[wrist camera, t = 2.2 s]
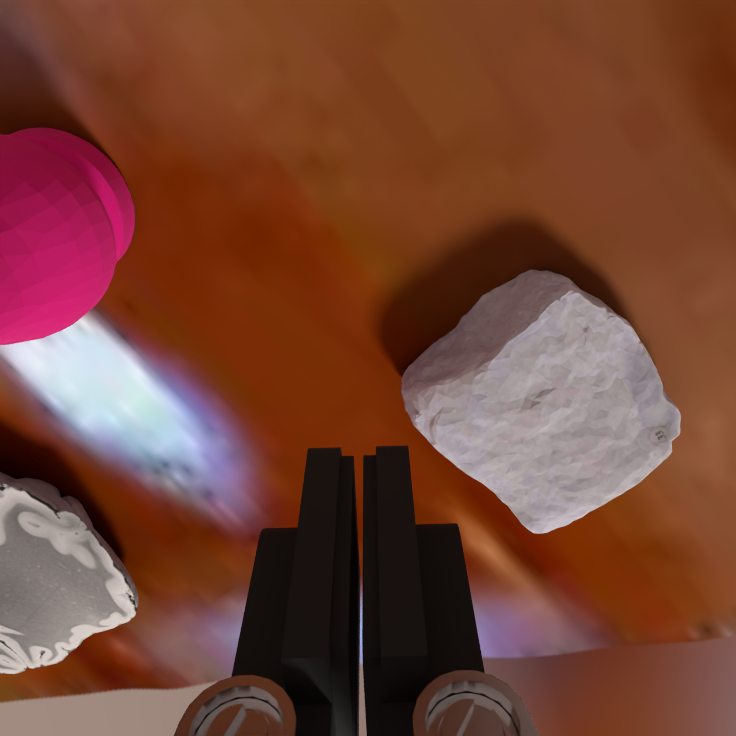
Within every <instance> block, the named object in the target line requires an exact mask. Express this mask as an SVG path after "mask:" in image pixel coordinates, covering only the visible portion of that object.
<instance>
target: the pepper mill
mask: <svg viewBox="0 0 736 736" xmlns="http://www.w3.org/2000/svg"><path fill="white" fill-rule="evenodd" d="M134 227H135V212H134V205H133V201H132V198H131V195H130V191H129V189H128V187H127V185H126V183H125V181H124V179H123V177H122V175H121V174H120V172H119V171H118V170H117V168H116V167H115V166H114V164H113V163H112V162H111V161H110V160H109V159H108V158H107V157H106V156H105V155H104V154H103V153H102V152H100V151H99V150H98V149H97V148H96V147H94V146H93V145H92V144H90V143H89V142H87V141H85V140H84V139H81V138H79V137H77V136H75V135H72V134H70V133H68V132H65V131H62V130H57V129H52V128H39V127H36V128H28V129H23V130H19V131H16V132H14V133H11V134H9V135H3V134H0V345H7V344H13V343H19V342H24V341H30V340H35V339H40V338H44V337H46V336H49V335H51V334H54V333H56V332H59V331H61V330H63V329H65V328H67V327H69V326H71V325H72V324H74V323H75V322H76V321H78V320H79V319H80V318H81V317H82V316H84V315H85V314H86V313H87V312H88V311H89V310H91V309H92V308H93V307H94V306H95V305H96V304H97V303H98V302H99V300H100V299H101V298H102V297H103V295H104V294H105V292H106V290H107V288H108V286H109V284H110V282H111V279H112V277H113V274H114V269H115V263H116V262H117V261H118V260H119V259H120V258H121V257H122V256H123V255H124V253H125V252H126V250H127V248H128V247H129V245H130V242H131V239H132V236H133V232H134Z"/></svg>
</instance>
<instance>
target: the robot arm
mask: <svg viewBox="0 0 736 736" xmlns="http://www.w3.org/2000/svg"><path fill="white" fill-rule="evenodd" d="M362 639H363V675H364V692H365V708H366V709H365V710H366V728H367V736H539V735H538V732H537V729H536V727H535V724H534V722H533V719H532V717H531V714H530V712H529V711H528V709H527V707H526V705H525V703H524V702H523V700H522V698H521V697H520V696H519V695H518V694H517V693H516V692H515V691H514V690H513V689H512V688H511V687H510V686H509V685H508V684H507V683H505V682H503V681H502V680H500V679H498V678H496V677H495V676H493V675H491V674H487V673H485V672H484V667H483V661H482V655H481V650H480V644H479V638H478V633H477V627H476V621H475V616H474V610H473V604H472V599H471V593H470V587H469V582H468V576H467V570H466V565H465V559H464V553H463V548H462V542H461V536H460V532H459V527H458V525H457V524H419V525H415V514H414V504H413V493H412V483H411V472H410V461H409V451H408V446H378V447H376V455H364V457H363V629H362ZM359 657H360V565H359V547H358V528H357V510H356V491H355V472H354V457H353V456H342V454H341V448H309V449H308V453H307V460H306V468H305V475H304V483H303V491H302V498H301V506H300V514H299V522H298V528H266V529H262V531H261V533H260V537H259V541H258V546H257V551H256V556H255V561H254V566H253V572H252V577H251V582H250V587H249V592H248V597H247V602H246V607H245V612H244V617H243V622H242V627H241V632H240V637H239V642H238V647H237V652H236V657H235V662H234V667H233V672H232V677H231V678H227V679H224V680H221V681H219V682H217V683H215V684H214V685H212V686H210V687H209V688H207V689H205V690H204V691H203V692H202V693H201V694H200V695H199V696H198V697H197V698H196V699H195V700H194V701H193V702H192V703H191V704H190V705H189V706H188V708H187V710H186V712H185V713H184V715H183V717H182V719H181V720H180V722H179V724H178V727H177V729H176V732H175V734H174V736H359Z"/></svg>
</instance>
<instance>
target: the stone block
mask: <svg viewBox="0 0 736 736" xmlns="http://www.w3.org/2000/svg"><path fill="white" fill-rule="evenodd" d="M401 381H402V387H401V392H402V396H403V399H404V402H405V410H406V411H407V412H408V414H409V416H410V418H411V420H412V423H413V425H414V426H415V427H416V428H417V429H418V430H419V431H420V432H421V433H422V434H423V435H424V436H425V437H426V439H427V440H428V441H429V442H430V443H431V444H432V445H433V446H434V448H435V449H436V450H438V451H439V452H440V453H441V454H442V455H443V456H445V457H446V458H447V459H449V460H450V461H451V462H452V463H453V464H454V465H456V466H457V467H458V468H459V469H461V470H462V471H464V472H465V473H466V474H468V475H469V476H470V477H472V478H474V479H476V480H478V481H479V482H481V483H482V484H484V485H485V486H486V487H488V488H489V489H490V490H491V491H493V492H494V493H495V494H496V495H497V496H498V497H499V499H500V500H501V501H502V502H503V503H505V504H506V505H508V507H509V508H510V509H511V510H512V512H513V513H514V514H515V516H516V517H517V518H518V519H519V521H520V522H521V523H522V525H524V526H525V527H526V528H527V529H529V530H530V531H531V532H533V533H547V532H549V531H551V530H554V529H556V528H558V527H563V526H566V525H568V524H570V523H571V522H572V521H574V520H577V519H579V518H581V517H583V516H584V515H586V514H587V513H588V512H590V511H592V510H594V509H596V508H598V507H600V506H602V505H604V504H605V503H607V502H609V501H610V500H612V499H613V498H615V497H617V496H619V495H621V494H623V493H624V492H625V491H627V490H629V489H630V488H632V487H634V486H635V485H637V484H638V483H640V482H641V481H642V480H643V479H644V478H645V477H646V476H647V475H648V474H649V473H650V472H652V471H653V470H654V469H655V468H656V467H658V466H659V465H660V463H661V462H663V461H664V460H665V459H666V458H667V457H668V456H669V455H670V454H671V453H672V440H674V439H675V438H676V437H677V436H679V434H680V420H681V415H680V412H679V410H678V408H677V407H676V405H675V404H674V402H673V401H672V400H671V399H670V397H669V396H668V395H667V394H666V392H665V391H664V389H663V385H662V382H661V379H660V377H659V375H658V372H657V368H656V367H655V365H654V363H653V361H652V359H651V357H650V355H649V353H648V352H647V350H646V348H645V347H644V345H643V344H642V343H641V341H640V339H639V337H638V335H637V334H636V332H635V331H634V329H633V328H632V326H631V325H630V324H629V322H628V321H627V320H626V319H624V318H623V317H621V316H619V315H617V314H616V313H615V312H614V311H613V310H612V309H611V308H610V307H608V306H607V305H606V304H604V303H603V302H602V301H601V300H600V299H598V298H596V297H594V296H592V295H590V294H588V293H586V292H584V291H582V290H581V289H579V288H578V287H577V286H576V285H575V284H574V283H573V282H572V281H571V280H570V279H569V278H567V277H565V276H563V275H561V274H557V273H553V272H550V271H546V270H545V271H538V270H528V271H526V272H524V273H522V274H520V275H518V276H517V277H515V278H514V279H512V280H510V281H509V282H507V283H505V284H503V285H501V286H499V287H496V288H494V289H492V290H491V291H490V292H488V293H486V294H484V295H483V296H482V297H481V298H480V299H479V301H478V302H477V303H476V304H475V305H474V306H473V308H472V309H471V310H470V311H469V312H468V313H467V314H466V315H463V316H462V318H461V319H460V321H459V323H458V325H457V326H456V327H455V328H454V329H453V330H451V331H450V332H449V333H448V334H447V335H445V336H443V337H442V338H440V339H438V340H437V341H436V342H434V343H433V344H432V345H431V346H430V347H429V348H428V349H427V350H425V351H424V352H423V353H422V354H421V355H420V356H419V357H418V358H417V359H416V360H415V361H414V362H413V363H412V364H411V365H409V366H408V368H407V369H406V371H405V372H404V374H403V377H402V380H401Z"/></svg>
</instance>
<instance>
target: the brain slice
mask: <svg viewBox="0 0 736 736" xmlns="http://www.w3.org/2000/svg"><path fill="white" fill-rule="evenodd" d="M137 607H138V593H137V590H136V587H135V583H134V581H133V579H132V578H131V576H130V574H129V573H128V571H127V569H126V568H125V566H124V565H123V563H122V561H121V560H120V559H119V558H118V557H117V555H116V554H115V553H114V551H113V550H112V548H111V547H110V546H109V545H108V544H107V542H106V541H105V540H104V539H103V538H102V537H101V535H100V534H99V533H98V532H97V531H96V530H95V529H94V528H93V525H92V522H91V520H90V518H89V517H88V515H87V513H86V511H85V509H84V508H83V506H82V504H81V503H80V502H79V501H78V500H77V499H75V498H73V497H71V496H69V495H68V496H65V497H60V492H59V491H58V489H57V488H56V487H54V486H52V485H50V484H49V483H46V482H44V481H41V480H39V479H32V478H21V479H14V478H12V477H10V476H8V475H6V474H2V473H1V472H0V673H6V674H16V673H19V672H23V671H25V670H26V668H27V667H28V668H31V669H34V668H38V667H41V666H47V665H51V664H55V663H60V662H61V661H62V660H63V659H64V658H65V657H66V656H67V655H68V653H70V652H71V651H73V650H74V649H75V648H77V647H78V646H79V645H80V644H81V643H82V641H83V640H84V639H85V638H87V637H89V636H90V635H92V634H94V633H97V632H102V631H106V630H109V629H113V628H115V627H116V626H118V625H120V624H123V623H126V622H128V621H130V620H131V619H132V618H133V617H134V616H135V614H136V611H137Z"/></svg>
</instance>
